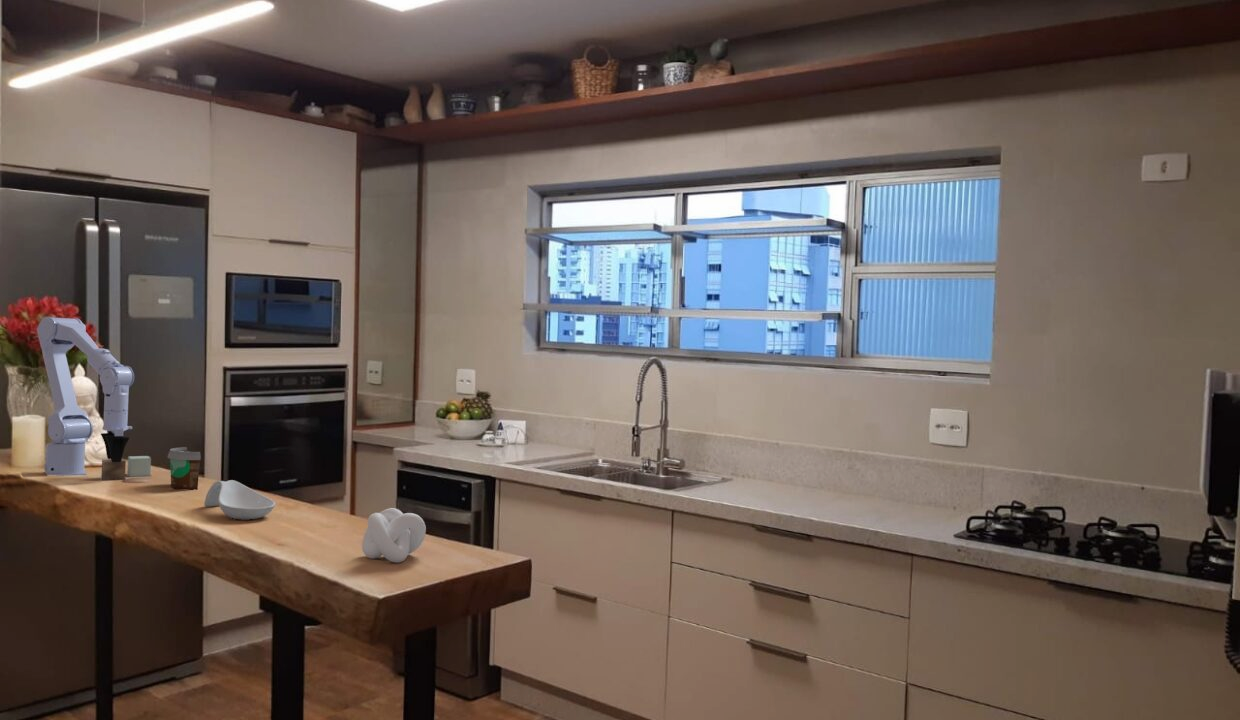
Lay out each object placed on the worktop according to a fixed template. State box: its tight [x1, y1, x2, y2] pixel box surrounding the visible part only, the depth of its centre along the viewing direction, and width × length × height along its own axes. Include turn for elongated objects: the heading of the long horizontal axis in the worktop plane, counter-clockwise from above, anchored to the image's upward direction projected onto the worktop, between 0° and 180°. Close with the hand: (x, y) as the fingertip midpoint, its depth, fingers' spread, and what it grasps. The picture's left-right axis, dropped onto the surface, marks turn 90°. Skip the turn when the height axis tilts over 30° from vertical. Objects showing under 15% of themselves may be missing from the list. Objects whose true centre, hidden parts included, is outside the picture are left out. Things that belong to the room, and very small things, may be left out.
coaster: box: [122, 477, 153, 484], centre depth 244 cm, size 7×7×1 cm
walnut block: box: [100, 458, 127, 481], centre depth 246 cm, size 5×5×5 cm
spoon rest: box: [203, 479, 276, 521], centre depth 207 cm, size 24×12×7 cm, turn 48°
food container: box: [167, 446, 202, 491], centre depth 239 cm, size 12×6×10 cm, turn 42°
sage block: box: [126, 455, 152, 478], centre depth 254 cm, size 5×5×5 cm
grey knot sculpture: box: [361, 507, 427, 564], centre depth 172 cm, size 11×12×9 cm
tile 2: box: [125, 473, 153, 478], centre depth 254 cm, size 6×6×1 cm
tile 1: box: [99, 477, 127, 482], centre depth 246 cm, size 6×6×1 cm
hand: (114, 460), depth 246 cm, fingers open, 7 cm apart
